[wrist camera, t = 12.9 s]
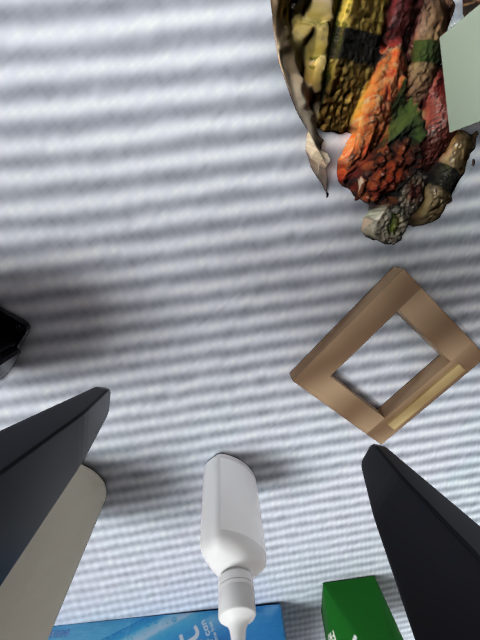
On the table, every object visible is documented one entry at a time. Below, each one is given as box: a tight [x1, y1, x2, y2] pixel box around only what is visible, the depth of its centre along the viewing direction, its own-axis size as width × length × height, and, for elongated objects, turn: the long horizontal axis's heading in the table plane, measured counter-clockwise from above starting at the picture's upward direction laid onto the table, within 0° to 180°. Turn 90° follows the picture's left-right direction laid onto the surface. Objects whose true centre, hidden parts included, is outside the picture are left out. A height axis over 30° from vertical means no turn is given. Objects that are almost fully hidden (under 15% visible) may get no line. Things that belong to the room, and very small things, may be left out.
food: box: [271, 0, 480, 245], centre depth 15 cm, size 22×19×4 cm
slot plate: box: [290, 267, 480, 444], centre depth 23 cm, size 12×12×1 cm
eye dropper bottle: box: [200, 454, 266, 640], centre depth 21 cm, size 4×6×12 cm
